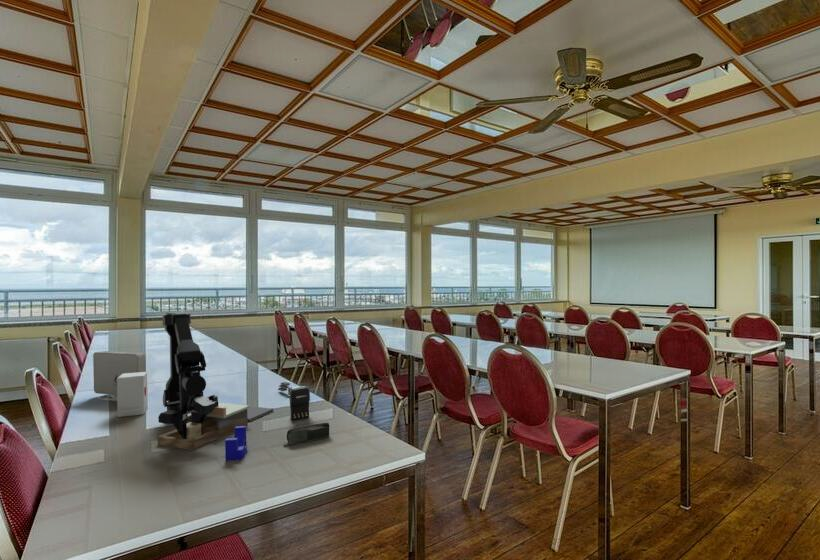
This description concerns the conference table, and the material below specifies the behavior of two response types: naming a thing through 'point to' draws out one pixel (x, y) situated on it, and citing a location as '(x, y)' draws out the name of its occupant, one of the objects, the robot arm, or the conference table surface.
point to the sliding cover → (226, 410)
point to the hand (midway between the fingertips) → (190, 437)
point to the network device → (114, 370)
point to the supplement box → (132, 394)
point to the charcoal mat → (256, 412)
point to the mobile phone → (307, 433)
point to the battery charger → (299, 403)
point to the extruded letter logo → (285, 387)
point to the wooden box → (205, 431)
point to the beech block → (193, 430)
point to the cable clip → (236, 444)
